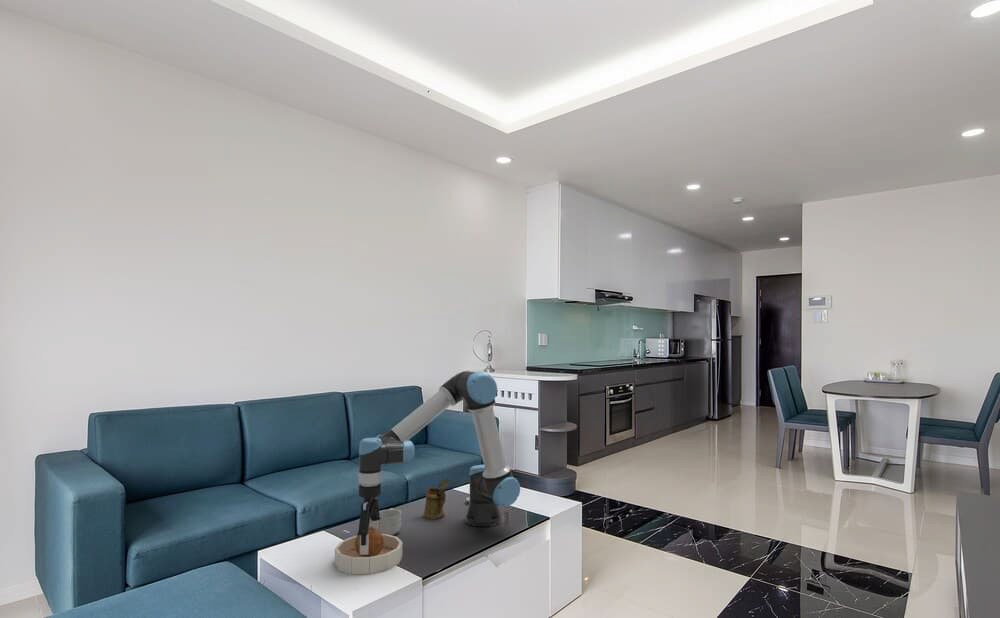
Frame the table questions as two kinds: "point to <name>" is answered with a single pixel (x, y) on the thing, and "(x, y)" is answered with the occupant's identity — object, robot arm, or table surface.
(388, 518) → the teacup
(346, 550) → the bowl
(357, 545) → the onion
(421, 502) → the table surface
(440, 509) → the wooden mug
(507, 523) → the table surface
